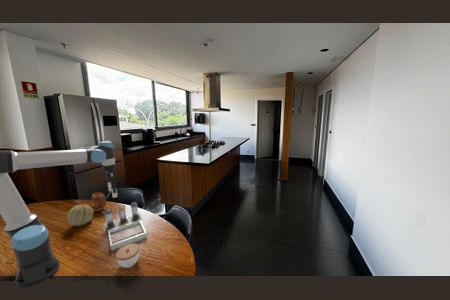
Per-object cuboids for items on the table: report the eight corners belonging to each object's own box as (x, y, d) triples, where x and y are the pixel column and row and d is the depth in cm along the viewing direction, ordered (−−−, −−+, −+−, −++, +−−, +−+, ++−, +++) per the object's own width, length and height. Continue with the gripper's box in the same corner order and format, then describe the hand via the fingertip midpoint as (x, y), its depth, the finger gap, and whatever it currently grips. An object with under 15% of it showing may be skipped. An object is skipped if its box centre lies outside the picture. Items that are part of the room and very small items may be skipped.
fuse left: (114, 226, 125) (111, 210, 123) (107, 228, 123) (104, 212, 120) (113, 223, 128) (111, 208, 126) (106, 225, 126) (104, 209, 124)
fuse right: (139, 218, 134) (137, 203, 132) (133, 220, 132) (131, 205, 130) (137, 216, 138) (136, 201, 135) (132, 218, 135) (130, 203, 133)
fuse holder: (143, 221, 134) (142, 216, 133) (104, 234, 120) (103, 228, 119) (140, 215, 141) (139, 210, 141) (103, 226, 127) (102, 221, 127)
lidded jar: (143, 255, 101) (142, 240, 99) (135, 271, 90) (133, 255, 89) (124, 256, 101) (122, 241, 99) (113, 272, 90) (110, 256, 88)
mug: (90, 210, 149) (88, 193, 146) (101, 206, 156) (98, 189, 154) (100, 214, 143) (98, 197, 140) (111, 210, 150) (109, 193, 147)
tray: (147, 237, 116) (146, 232, 115) (111, 251, 104) (110, 245, 104) (140, 224, 130) (140, 220, 129) (108, 235, 118) (107, 230, 118)
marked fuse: (127, 222, 130) (125, 206, 127) (120, 224, 127) (118, 208, 125) (126, 219, 133) (124, 204, 131) (119, 221, 131) (117, 206, 128)
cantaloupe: (63, 228, 125) (59, 208, 123) (84, 217, 139) (81, 199, 137) (80, 231, 122) (76, 211, 119) (99, 219, 136) (96, 201, 133)
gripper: (119, 167, 115) (123, 198, 119) (111, 159, 133) (115, 187, 137) (105, 169, 110) (110, 201, 114) (99, 161, 128) (103, 189, 132)
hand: (113, 193), depth 126 cm, fingers open, 13 cm apart
